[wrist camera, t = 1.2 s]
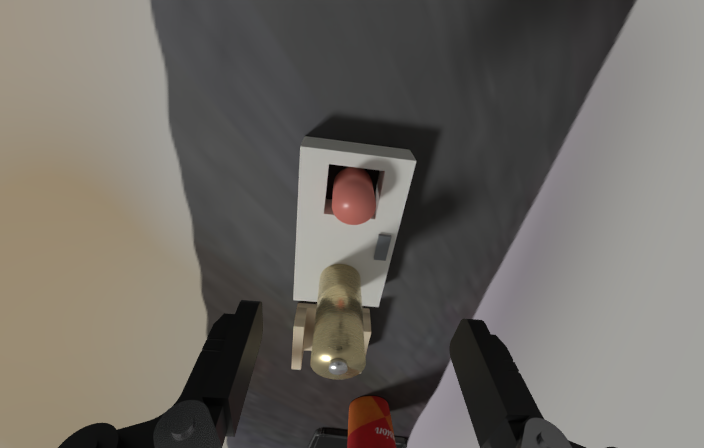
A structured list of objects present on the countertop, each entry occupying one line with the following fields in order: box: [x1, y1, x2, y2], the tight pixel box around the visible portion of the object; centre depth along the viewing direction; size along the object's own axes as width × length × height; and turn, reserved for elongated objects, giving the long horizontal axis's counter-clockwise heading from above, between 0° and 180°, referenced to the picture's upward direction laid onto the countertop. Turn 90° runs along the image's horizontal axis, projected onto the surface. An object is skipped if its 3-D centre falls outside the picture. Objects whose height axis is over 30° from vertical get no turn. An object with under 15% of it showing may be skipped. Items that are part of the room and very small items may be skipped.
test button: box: [332, 167, 376, 225], centre depth 22 cm, size 3×3×4 cm
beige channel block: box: [292, 303, 371, 373], centre depth 32 cm, size 7×8×3 cm
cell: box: [311, 264, 366, 379], centre depth 23 cm, size 4×4×8 cm
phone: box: [308, 428, 407, 448], centre depth 48 cm, size 8×1×15 cm
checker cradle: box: [293, 136, 416, 307], centre depth 25 cm, size 14×8×3 cm, turn 172°
